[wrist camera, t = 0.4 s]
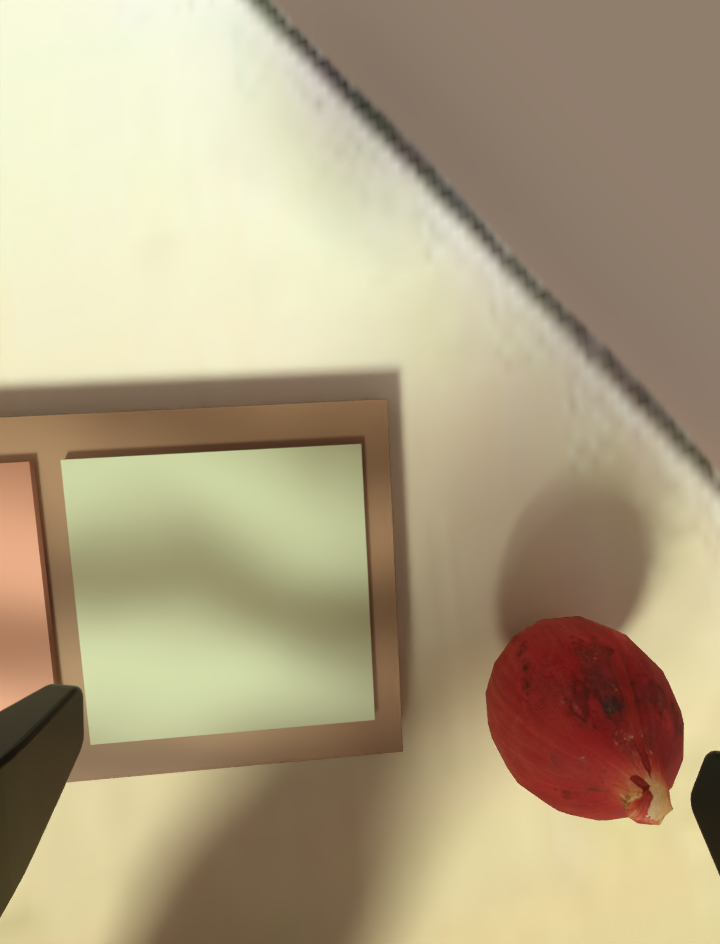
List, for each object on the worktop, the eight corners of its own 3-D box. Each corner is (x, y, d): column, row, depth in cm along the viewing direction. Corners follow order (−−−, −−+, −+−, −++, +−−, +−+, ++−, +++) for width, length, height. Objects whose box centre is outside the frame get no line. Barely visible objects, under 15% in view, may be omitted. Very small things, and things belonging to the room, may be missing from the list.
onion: (455, 597, 21) (540, 708, 13) (599, 580, 21) (768, 677, 13) (467, 738, 21) (554, 928, 13) (606, 720, 22) (772, 894, 14)
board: (398, 732, 21) (404, 756, 19) (-226, 788, 19) (-272, 819, 18) (382, 400, 20) (388, 398, 18) (-286, 432, 18) (-341, 433, 17)
